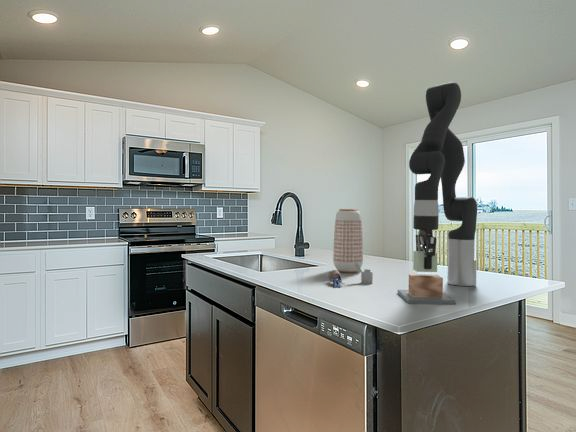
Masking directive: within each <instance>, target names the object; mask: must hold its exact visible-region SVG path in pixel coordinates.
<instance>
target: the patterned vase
mask: <svg viewBox="0 0 576 432" xmlns="http://www.w3.org/2000/svg"><path fill="white" fill-rule="evenodd" d="M333 232H334V233H333V236H334V237H333V250H332V251H333V254H332V255H333V257H332V260H333V261H332V262H333V265H334V267H335V270H337V271H339V272H340V273H344V274H355V273H358V272H357V270H356V267H355V265H354V263H355V262H358V264H359V266H360V268H362V266H363V263H364V251H363V250H364V245H363V243H364V241H363V222H362V214H361V212H360V211H359V209H356V208H354V209H352V208H351V209H350V208H349V209H348V208H346V209H345V208H342V209H341V208H339V210H338V211H337V212H336V214H335V222H334V231H333Z"/></svg>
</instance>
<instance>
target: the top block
mask: <svg viewBox="0 0 576 432" xmlns="http://www.w3.org/2000/svg"><path fill="white" fill-rule="evenodd" d="M429 252H430V250H429ZM412 253H413V256H412V257H413V262H412V263H413V266H412V268H413V269H412V270H414V271H415V272H418V273H438V252H436V251H435V256H433V257H432V269H424V251H416V250H413V252H412Z"/></svg>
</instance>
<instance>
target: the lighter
mask: <svg viewBox="0 0 576 432" xmlns="http://www.w3.org/2000/svg"><path fill="white" fill-rule="evenodd" d="M354 265H355V267H356V270H357V272H356V273H358V274H359V273H361V275H360V276H361V278H360V281H361V282H360V283H361V284H373V272H374V271H371V269H370V268H365V269H363V270H362V269H361V268H362V267H361V268H360V266H359V264H358V262H355V263H354Z"/></svg>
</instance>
